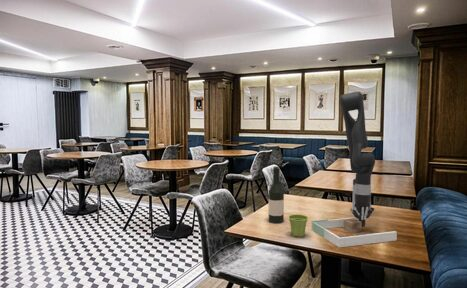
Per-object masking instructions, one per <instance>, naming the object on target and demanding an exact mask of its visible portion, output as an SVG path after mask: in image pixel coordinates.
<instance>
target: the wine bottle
mask: <svg viewBox="0 0 467 288" xmlns="http://www.w3.org/2000/svg"><path fill="white" fill-rule="evenodd" d="M272 172H273V173H272V174H273V175H272V176H273V177H272V181H273V182H272V185H271V186H270V188H269V189H268V222H269V223H270V224H276V225H277V224H282V223H284V221H285V220H284V218H285V217H284V214H285V213H284V211H285V203H284V202H285V191H284V190H283V188H282V187H281V183H280V167H279V166H274V167H273V168H272Z"/></svg>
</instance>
